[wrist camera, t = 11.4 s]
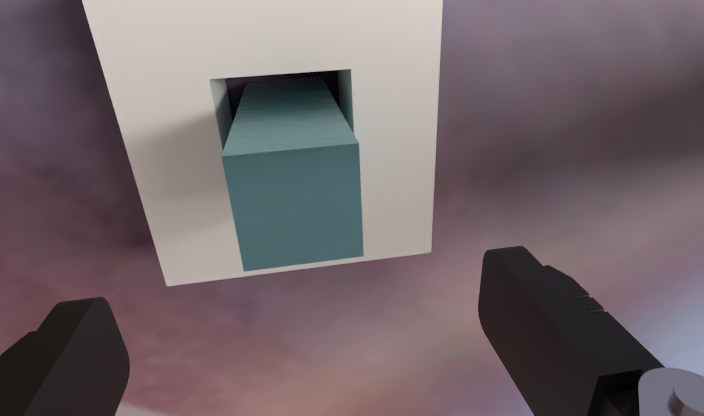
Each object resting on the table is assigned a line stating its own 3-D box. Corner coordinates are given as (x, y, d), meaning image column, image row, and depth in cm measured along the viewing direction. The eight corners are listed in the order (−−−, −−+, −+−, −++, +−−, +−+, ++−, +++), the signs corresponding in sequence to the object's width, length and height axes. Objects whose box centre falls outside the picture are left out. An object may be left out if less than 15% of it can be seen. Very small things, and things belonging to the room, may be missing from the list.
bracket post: (321, 76, 23) (359, 143, 13) (326, 146, 25) (363, 256, 14) (246, 82, 23) (221, 156, 12) (257, 153, 25) (243, 271, 14)
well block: (410, -34, 22) (444, -42, 17) (406, 212, 28) (431, 252, 23) (119, -21, 20) (74, -26, 15) (185, 237, 26) (166, 286, 22)
